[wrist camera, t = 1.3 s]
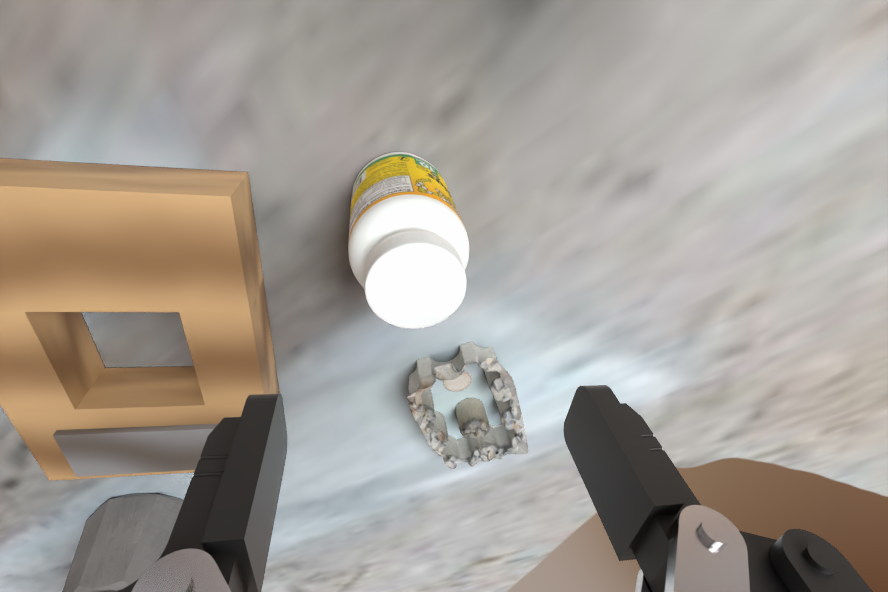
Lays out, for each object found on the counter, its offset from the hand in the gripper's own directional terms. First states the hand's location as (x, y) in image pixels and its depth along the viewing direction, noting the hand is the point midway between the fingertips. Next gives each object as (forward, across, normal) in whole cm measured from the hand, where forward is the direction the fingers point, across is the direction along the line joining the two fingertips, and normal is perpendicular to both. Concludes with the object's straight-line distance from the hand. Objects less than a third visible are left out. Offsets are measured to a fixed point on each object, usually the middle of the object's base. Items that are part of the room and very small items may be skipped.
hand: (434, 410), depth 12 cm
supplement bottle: (+16, 0, 0) cm, 16 cm away
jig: (+16, +15, +9) cm, 23 cm away
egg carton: (+16, -6, +16) cm, 23 cm away
